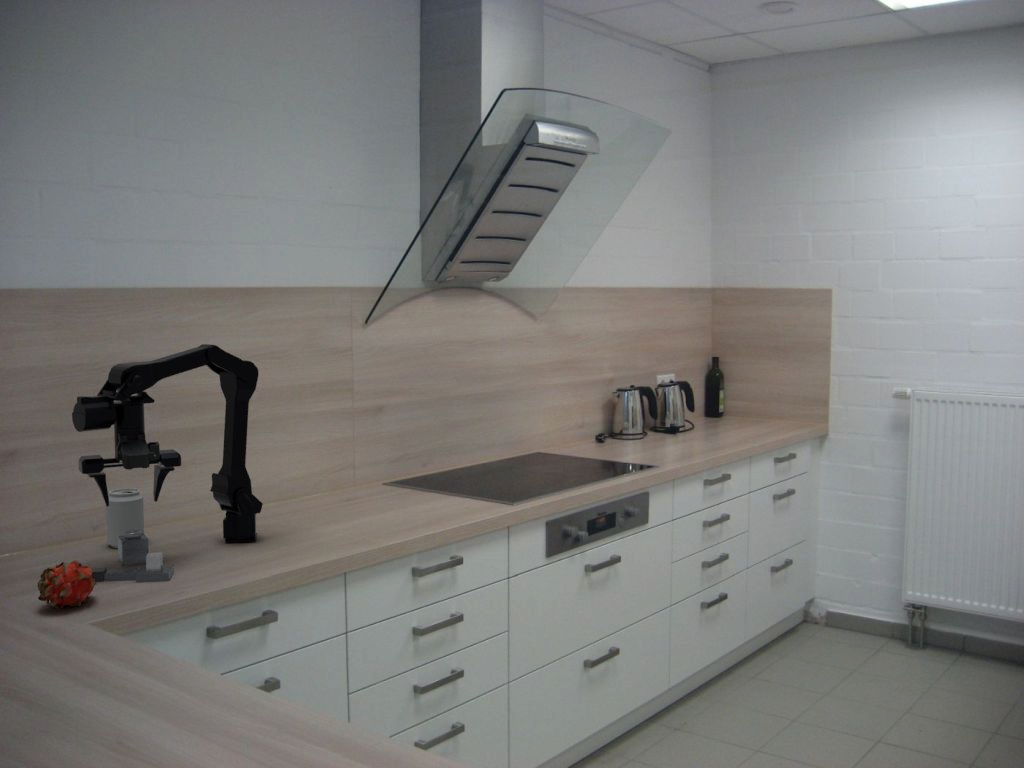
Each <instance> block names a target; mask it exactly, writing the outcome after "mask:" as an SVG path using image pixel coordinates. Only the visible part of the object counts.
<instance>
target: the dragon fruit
mask: <svg viewBox="0 0 1024 768" xmlns="http://www.w3.org/2000/svg"><path fill="white" fill-rule="evenodd" d="M91 568H92V567H90V566H89V564H88V565H87V564H86V565H82V563H81V562H80V561H78V560H72V561H71V562H70V563H69V564H68V563H67V562H65V561H63V562H61V563H59V564H57V565H55V566H49V567H47V568H46V569H43V572H42V573H41V574H40V579H39V580H38V582H37V589H38V591H39V596H38V600H39V601H41V602H45V603H46V606H52V607H54V608H56V609H57V610H62V609H63V608H64V607H65V606H66V605H69V606H71V607H75V606H76V607H80V606H81V605H82V603H87V602H88V599H89V598H90V594H91V593H92V592H93V590H94V588H95V585H97V583H98V582H94V581H95V578H94V577H93V576H92V573H93V571H92V569H91Z"/></svg>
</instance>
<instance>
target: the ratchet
mask: <svg viewBox="0 0 1024 768" xmlns="http://www.w3.org/2000/svg"><path fill="white" fill-rule="evenodd" d="M163 558H164V557H163V552H149V553H148V554H147V556H146V563H145V565H143V566H142V565H141V566H140V567H139V568H126V569H108V567H106V566H104V567H103V566H102V567H90V568H91V569H92V571H93V573H92V576H93V577H94V578H95V581H94V582H96V583H102V582H103V583H104V582H115V581H118V582H119V581H135V583H152V582H153V583H154V582H156V583H157V582H169V581H170V579H171V578H172V576H173V574H174V564H164V560H163Z"/></svg>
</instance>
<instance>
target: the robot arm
mask: <svg viewBox="0 0 1024 768" xmlns="http://www.w3.org/2000/svg"><path fill="white" fill-rule="evenodd" d="M205 366H207V368H208V369H209V370H210V371H212V372H213V373H215V374H217V375H218V376H219V384H220V385H219V386H220V390H221V391H222V394H223V396H224V399H225V411H224V413H225V414H224V430H223V431H224V433H223V446H222V447H223V449H222V465H221V467H220V470H218V472H217V473H216V472H213V473H212V474H211V487H210V492H211V493H212V497H213V500H215V502H217V503H218V505H219V507H220V510H221V511H225V517H224V518H223V519H222V533H223V535H222V536H223V539H224V543H227V544H228V543H230V544H231V543H248V542H250V543H251V542H256V541H257V538H258V532H257V514H260V513H261V512H262V509H263V506H264V505H263V502H262V501H261V500H259V498H257V496H255V495H254V494H253V490H252V480H251V477H250V474H249V473H248V469H247V467H246V464H247V463H246V462H247V461H246V460H247V459H246V458H247V444H248V443H247V442H248V428H249V427H248V426H249V425H248V423H249V409H250V408H249V407H250V406H249V404H250V400H251V399H252V397H253V395H254V393H255V391H256V389H257V385H258V379H259V368H258V366H257V365H255V363H254V362H252V361H251V360H245V359H241V358H240V357H238V356H235V355H233V354H232V353H230V352H227V351H225V350H224V349H223V348H221V347H219V346H218V345H216V344H209V343H203V344H200V345H198V346H196V347H193V348H190V349H186V350H183V351H180V352H175V353H173V354H170V355H167V356H163V357H160V358H156V359H153V360H150V361H149V360H148V361H146V360H145V361H133V362H123V363H117V364H115V365H113V366H112V367H110V371H109V373H108V377H107V379H106V381H105V383H104V384H103V386H102V387H101V388H100V390H99V392H98V393H97V395H93V396H92V395H91V396H84V395H81V396H76V403H75V404H74V407H73V410H72V412H71V417H72V419H71V420H72V424H73V426H74V429H75V430H76V431H77V432H78V433H82V432H92V431H101V430H109V429H110V428H111V427H112V426H113V430H114V431H113V432H114V433H113V435H114V457H109V458H103V456H102V455H101V454H93V455H92V454H90V455H81V456H80V457H79V458H78V471H79V472H81V474H82V475H87V476H88V478H89V479H90V478H91V479H94V481H95V482H96V484H97V486H98V489H99V491H100V494H101V496H102V499H103V501H104V504H105V507H106V506H109V497H108V496H109V492H108V486H107V474H106V473H105V472H104V469H107V468H108V469H109V468H118V467H119V468H121V467H123V469H125V470H129V471H130V470H133V469H147V468H149V467H150V465H154V471H153V493H152V494H153V502H155V503H156V502H158V501H159V497H160V493H161V491H162V487H163V484H164V482H165V479H166V478H167V476H168V474H169V473H170V472H174V471H175V467H182V456H181V454H180V453H179V452H178V451H177V450H175V449H173V448H172V449H171V448H170V449H160V443H159V441H150V442H149V441H148V442H147V440H146V433H145V432H146V427H145V425H146V424H145V404H153V403H155V402H156V401H155V399H154V398H153V397H151V396H150V395H149V394H148V392H147V391H146V390H148V389H150V388H152V387H153V386H155V385H156V384H157V383H158V382H160V381H162V380H164V379H166V378H170V377H172V376H177V375H179V374H182V373H185V372H188V371H191V370H195V369H198V368H200V367H205Z"/></svg>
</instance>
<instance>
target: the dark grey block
mask: <svg viewBox="0 0 1024 768" xmlns="http://www.w3.org/2000/svg"><path fill="white" fill-rule="evenodd" d="M148 553H150V551H149V538H148V536H147V535H145V532H144V533H141V531H127V532H125V533H124V535H123V536H118V548H117V555H118V556H117V557H118V558H117V560H118V562H119V563H120V565H121V566H122V567H127V566H135V565H136V566H137V565H143V564H146V556H147V554H148Z"/></svg>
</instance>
